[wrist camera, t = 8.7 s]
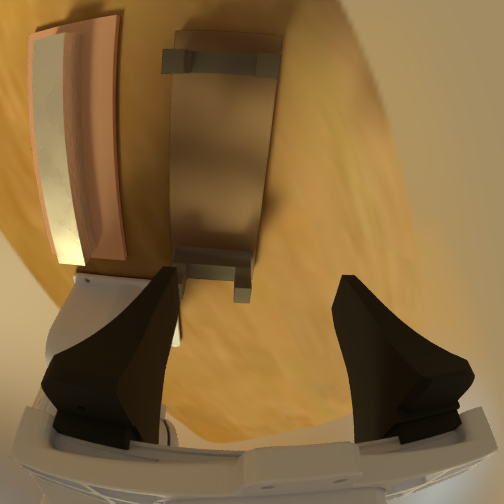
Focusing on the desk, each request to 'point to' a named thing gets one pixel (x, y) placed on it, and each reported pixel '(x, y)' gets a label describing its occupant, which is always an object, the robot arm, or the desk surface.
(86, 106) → the mat
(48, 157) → the steel rail
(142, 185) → the desk surface
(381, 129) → the desk surface
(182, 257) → the hook stand
